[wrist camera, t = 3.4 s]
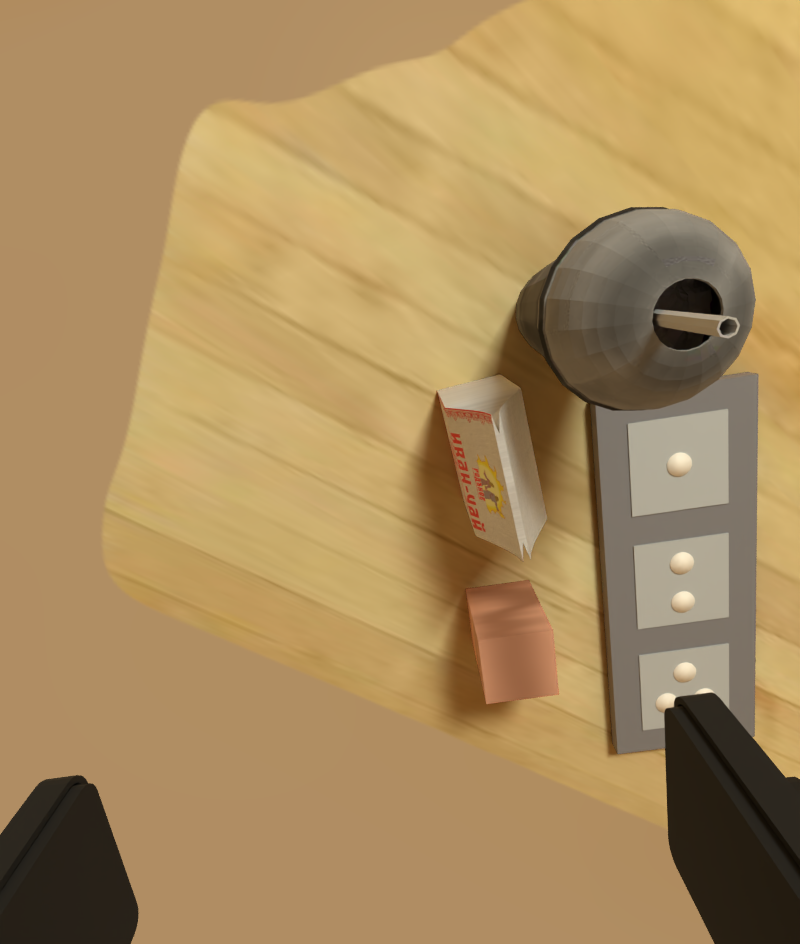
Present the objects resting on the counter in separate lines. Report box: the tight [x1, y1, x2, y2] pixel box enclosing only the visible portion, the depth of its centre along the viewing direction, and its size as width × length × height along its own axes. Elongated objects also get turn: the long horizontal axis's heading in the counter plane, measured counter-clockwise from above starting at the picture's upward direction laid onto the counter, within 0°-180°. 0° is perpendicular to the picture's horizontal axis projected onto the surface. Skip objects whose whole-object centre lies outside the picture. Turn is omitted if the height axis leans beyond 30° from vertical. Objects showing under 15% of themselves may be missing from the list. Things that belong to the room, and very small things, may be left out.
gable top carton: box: [437, 374, 547, 561], centre depth 30 cm, size 4×7×10 cm, turn 14°
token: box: [465, 580, 559, 704], centre depth 35 cm, size 4×4×6 cm
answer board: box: [590, 372, 758, 754], centre depth 37 cm, size 9×24×1 cm, turn 9°
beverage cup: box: [516, 207, 756, 411], centre depth 23 cm, size 7×7×20 cm
